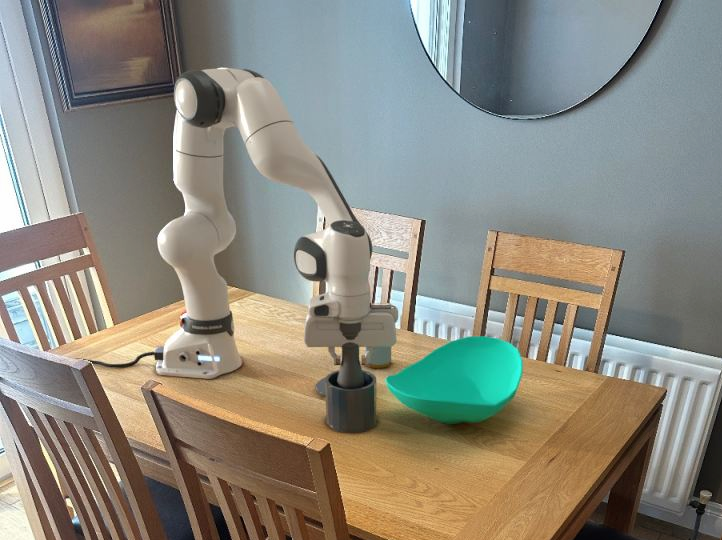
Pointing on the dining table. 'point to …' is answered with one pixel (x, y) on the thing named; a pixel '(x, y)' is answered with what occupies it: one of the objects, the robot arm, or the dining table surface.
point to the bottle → (379, 357)
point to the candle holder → (350, 359)
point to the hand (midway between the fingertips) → (351, 364)
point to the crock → (350, 404)
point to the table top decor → (461, 380)
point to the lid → (321, 386)
